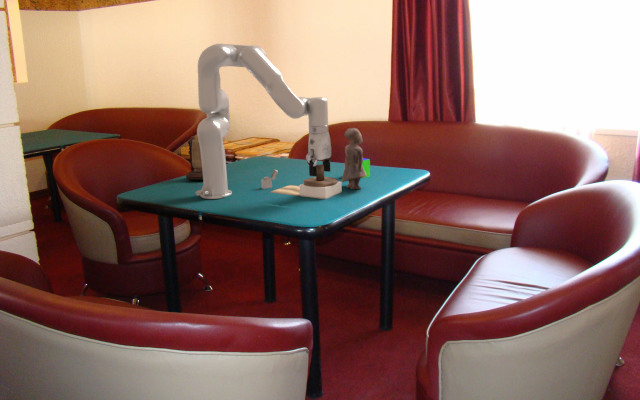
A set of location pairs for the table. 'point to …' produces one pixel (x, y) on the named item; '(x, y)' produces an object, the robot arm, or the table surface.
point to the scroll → (195, 160)
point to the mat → (288, 190)
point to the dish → (320, 191)
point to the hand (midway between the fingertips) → (320, 173)
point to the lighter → (268, 180)
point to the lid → (320, 179)
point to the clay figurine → (353, 159)
